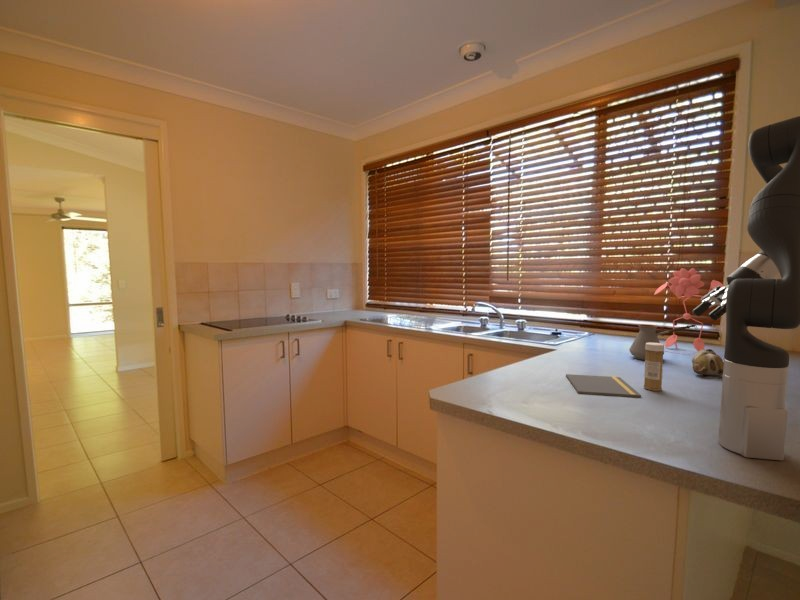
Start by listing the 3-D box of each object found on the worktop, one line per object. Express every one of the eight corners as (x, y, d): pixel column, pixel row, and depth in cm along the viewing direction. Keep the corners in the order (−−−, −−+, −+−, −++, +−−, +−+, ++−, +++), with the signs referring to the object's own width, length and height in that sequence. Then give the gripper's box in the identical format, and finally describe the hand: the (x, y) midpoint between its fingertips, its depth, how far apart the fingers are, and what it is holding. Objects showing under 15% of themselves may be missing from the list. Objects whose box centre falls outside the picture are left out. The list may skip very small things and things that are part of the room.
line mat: (641, 397, 107) (641, 394, 107) (578, 393, 111) (578, 390, 111) (619, 379, 125) (619, 376, 125) (565, 376, 128) (566, 373, 128)
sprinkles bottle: (664, 389, 114) (667, 343, 113) (657, 392, 111) (659, 345, 110) (647, 385, 118) (650, 341, 117) (640, 388, 115) (642, 342, 114)
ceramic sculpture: (722, 345, 134) (739, 357, 121) (720, 369, 135) (737, 384, 122) (685, 343, 138) (697, 354, 125) (683, 366, 140) (695, 380, 126)
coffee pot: (624, 358, 153) (626, 319, 152) (635, 353, 161) (637, 317, 159) (690, 368, 137) (693, 326, 136) (699, 363, 144) (701, 323, 143)
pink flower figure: (656, 344, 180) (661, 268, 177) (725, 355, 158) (731, 268, 155) (638, 348, 172) (642, 268, 169) (708, 359, 150) (714, 268, 147)
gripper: (727, 265, 114) (680, 303, 118) (760, 265, 100) (706, 309, 104) (747, 283, 113) (699, 321, 117) (783, 286, 99) (728, 329, 103)
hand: (702, 316), depth 110 cm, fingers open, 8 cm apart
